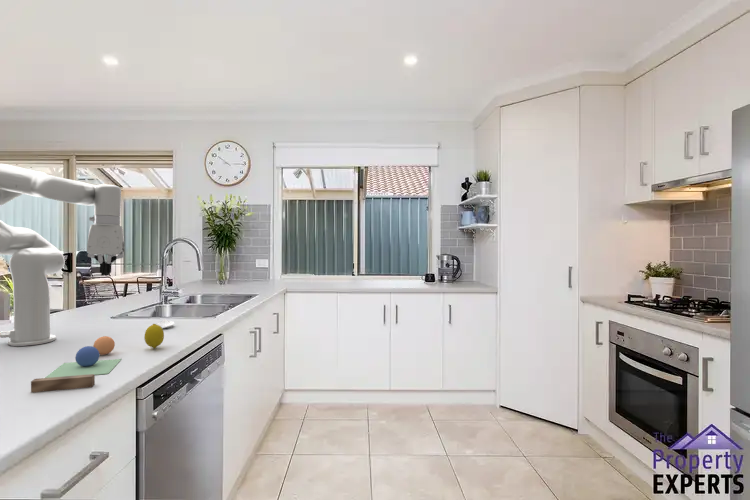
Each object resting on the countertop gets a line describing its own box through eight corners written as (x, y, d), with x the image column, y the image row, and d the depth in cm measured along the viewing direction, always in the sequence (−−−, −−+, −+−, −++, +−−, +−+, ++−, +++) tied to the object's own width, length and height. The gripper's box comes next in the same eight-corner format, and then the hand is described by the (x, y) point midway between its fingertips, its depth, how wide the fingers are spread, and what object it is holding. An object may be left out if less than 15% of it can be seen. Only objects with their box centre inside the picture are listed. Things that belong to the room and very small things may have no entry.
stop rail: (31, 392, 98) (30, 381, 97) (34, 389, 99) (34, 378, 99) (92, 387, 101) (92, 376, 101) (94, 384, 103) (94, 374, 103)
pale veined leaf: (175, 323, 177) (175, 317, 176) (173, 331, 166) (172, 324, 165) (154, 325, 174) (153, 319, 174) (150, 334, 163) (149, 327, 162)
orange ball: (96, 336, 132) (92, 355, 130) (94, 334, 127) (90, 353, 125) (117, 337, 134) (113, 356, 132) (115, 335, 129) (112, 354, 127)
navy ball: (81, 352, 120) (76, 370, 117) (75, 343, 116) (70, 362, 113) (103, 350, 122) (99, 369, 119) (98, 341, 118) (94, 360, 115)
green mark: (43, 379, 107) (43, 378, 107) (64, 363, 120) (64, 362, 120) (108, 374, 111) (108, 373, 111) (121, 359, 124) (121, 358, 124)
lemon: (155, 351, 134) (155, 325, 134) (140, 350, 135) (140, 325, 135) (167, 347, 139) (167, 322, 139) (152, 346, 140) (152, 321, 140)
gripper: (77, 219, 140) (75, 275, 140) (128, 222, 144) (126, 276, 144) (86, 220, 147) (84, 273, 148) (134, 222, 151) (132, 274, 152)
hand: (105, 275), depth 146 cm, fingers closed
